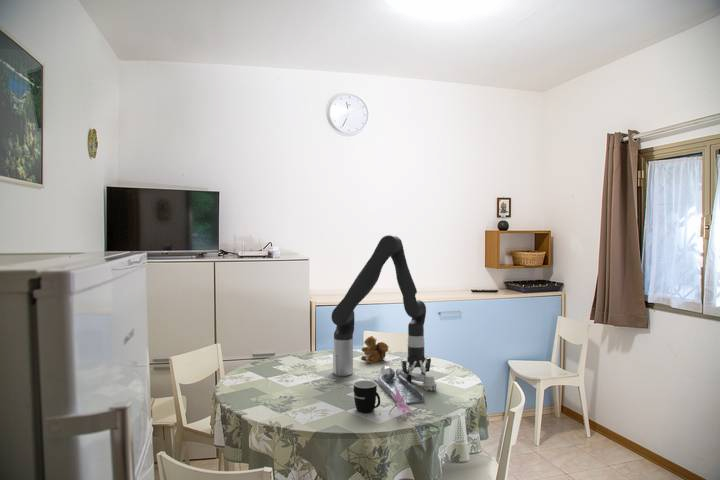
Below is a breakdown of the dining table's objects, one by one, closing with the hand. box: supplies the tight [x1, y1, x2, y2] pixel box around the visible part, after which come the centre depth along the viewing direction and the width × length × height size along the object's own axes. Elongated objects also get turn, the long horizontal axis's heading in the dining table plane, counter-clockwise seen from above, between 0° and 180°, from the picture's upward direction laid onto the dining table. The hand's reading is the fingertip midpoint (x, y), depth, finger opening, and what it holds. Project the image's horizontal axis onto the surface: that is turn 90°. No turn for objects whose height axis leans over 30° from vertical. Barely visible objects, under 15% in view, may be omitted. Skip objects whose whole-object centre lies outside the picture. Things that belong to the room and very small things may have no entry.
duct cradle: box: [374, 365, 426, 405], centre depth 196 cm, size 32×11×6 cm, turn 16°
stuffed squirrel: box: [360, 335, 389, 364], centre depth 242 cm, size 10×14×13 cm
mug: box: [353, 379, 381, 414], centre depth 173 cm, size 12×9×10 cm
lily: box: [388, 385, 413, 420], centre depth 170 cm, size 12×12×10 cm
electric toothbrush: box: [395, 368, 438, 391], centre depth 205 cm, size 5×7×25 cm
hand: (416, 381), depth 205 cm, fingers closed on electric toothbrush, 5 cm apart
